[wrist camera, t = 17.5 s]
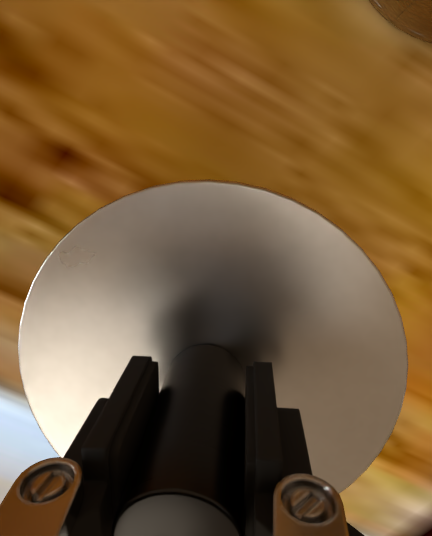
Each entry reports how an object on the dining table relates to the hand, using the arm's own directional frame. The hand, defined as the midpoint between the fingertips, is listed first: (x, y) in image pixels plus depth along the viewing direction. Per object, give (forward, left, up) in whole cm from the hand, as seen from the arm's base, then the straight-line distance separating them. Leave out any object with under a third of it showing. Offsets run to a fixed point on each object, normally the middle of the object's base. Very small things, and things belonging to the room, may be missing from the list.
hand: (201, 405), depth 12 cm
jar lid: (0, 0, -2) cm, 2 cm away
